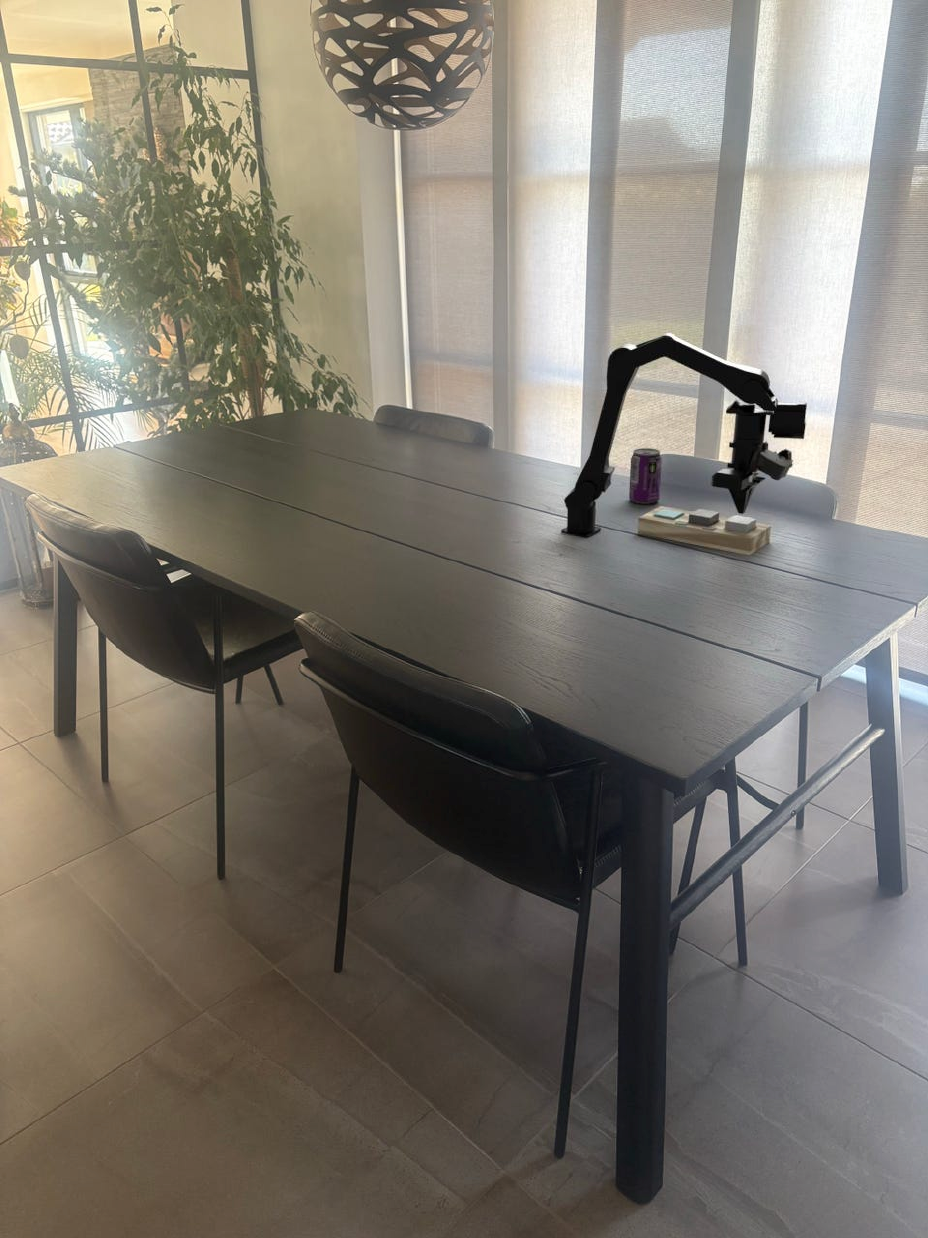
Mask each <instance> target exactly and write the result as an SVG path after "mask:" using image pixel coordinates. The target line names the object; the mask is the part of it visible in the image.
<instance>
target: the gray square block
mask: <svg viewBox="0 0 928 1238" xmlns="http://www.w3.org/2000/svg"><path fill="white" fill-rule="evenodd" d="M691 512H692V513H690V514H689V522H688V523H692V524H697V525H703V526H709V527H710V526H712V525H714V524H716V523H717V522H719V517H720V512H718V511H714V510H709V509H704V508H703V509H702V508H698V509H696V510H694V511H691Z"/></svg>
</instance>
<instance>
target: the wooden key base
mask: <svg viewBox="0 0 928 1238" xmlns="http://www.w3.org/2000/svg"><path fill="white" fill-rule="evenodd" d="M663 509H669V510H675V511H680V512H684V515H683V516H681V517H679V518H678V519H676V520H670V519H665V518H659V517H654V514H655V513H657V512H659V511H661V510H663ZM692 512H693V511H690V510H685V509H679V508H674V507H668V506H663V505H660V506H659V507H656V508H655V509H653V510H651V511H648V512H646V513H645V514H643V515H640V516H639V517H638V519H637V521H638V523H637V525H638V526H637V534H641V535H645V536H650V537H656V538H660V539H665V540H670V541H675V542H682V543H685V544H691V545H695V546H701V547H704V548H705V547H706V548H711V549H715V550H721V551H726V552H731V553H737V554H740V555H745V556H751V555H752V554H754V553H755V552H757V551H758V550H760V549H762V548H763V547H764V546H766V545H767V544H769V542H770V541H771V530H772V525H769V524H764V523H757V522H756V528H755V529H754V530H752V531H751V532H749V533H748V534H746V533H740V532H735V531H729V530H725V521H726V520H727V519H729V518H730V517H724V516H719V522H717V523H716V524H714V525H712V526H710V527H709V526H703V525H697V524H692V523H688V522H689V514H690V513H692Z"/></svg>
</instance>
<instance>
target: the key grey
mask: <svg viewBox="0 0 928 1238" xmlns="http://www.w3.org/2000/svg"><path fill="white" fill-rule="evenodd" d="M728 518H729V519H727V520H726V521H725V530H729V531H735V532H740V533H746V534H748V533H749V532H751V531H752V530H754V529H755V528H756V523H757V518H754V517H748V516H742V515H737V514H736V515H735V514H734V515H732V516H731V517H728Z"/></svg>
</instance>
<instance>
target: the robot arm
mask: <svg viewBox="0 0 928 1238" xmlns="http://www.w3.org/2000/svg"><path fill="white" fill-rule="evenodd" d="M662 358H667V359H669V360H671V361H674V362H675V363H678V364H680V365H682V366H684V367H686V368H688V369H691V370H693V371H695V372H697V373H699V374H700V375H703V376H705V377H707V378H710V380H711V379H712V380H713V381H715V382H717V383H719V384H720V385H722V386H723V387H724V388H725V389H726V390H727V391H729V393H731V394H732V395H734V396H735V397H736V398H737V399H735V400H734V401H733V402H732V403H731V405H729V406H727V407H726V409H725V413H726V415H727V414H728V415H735V419H734V431H733V440H731V441H729V443H728V447H729V448H731V449H732V452H731V460H730V461H728V462H727V465H726V468H722V469H721V470H718V471H717V472H715V473H714V474H713V475H712V476H711V483H710V484H711V485H710V486H712V487H714V488H721V489H727V490H728V491H729V493H730V496H731V499H732V501H733V503H734V505H735V509H736V511H737V513H738V514H740V515H743V514H745V513H746V512H747V508H748V506H749V503H750V500H751V498H752V495H753V493H754V491H755V488H756V487H757V486H758V485H760V484H761V483H762V482H763V481H765V480H766V478H765V477H762V476H760V473H759V471H760V472H761V473H763V474H765V475H766V476H769V477H770V478H771V479H772V480H775V481H780V480H782V478H785V477H786V476H787V474H788V473H789V470H790V468H793V462H794V460H793V459H792V453H793V452H792V451H791V450H789V449H787V448H784V449H782V450H781V451H779V452H777V450H774V451H772V450H770V449H769V443H768V440H765V431H766V422H767V421H766V420H767V416H769V422H768V433H771V434H770V435H773V438H774V439H790V440H791V439H794V440H797V439H798V440H804V439H805V434H806V425H807V417H806V416H807V415H806V414H807V405H808V404H807V402H803V401H801V402H779V400H778V398H777V396H776V395H775V394H774V392H773V391H772V389H771V388H770V386H771V381H770V377H769V375H768V374H767V372H766V371H764V370H762V369H760V368H756V367H753V366H748V365H744V364H738V363H733V362H730V361H728V360H725V359H723V358H721V357H719V356H716V355H715V354H712V353H710V352H708V351H706V350H704V349H702V348H700V347H697V346H695V345H693V344H691V343H690V342H687V341H684V340H683V339H681V338H679V337H677V336H676V335H675V334H673V333H670V332H667V333H664V334H662V335H660V336H657V337H656V338H652V339H650V340H647V341H644V342H643V341H642V342H641V343H639V344H636V345H635V344H633V343H625V344H621V345H619V347H617V348H616V349H614V350H613V351H612V352H611V353H610V354H609V356H608V359H607V368H606V393H605V396H604V400H603V404H602V407H601V411H600V415H599V419H598V423H597V425H596V426H597V427H596V430H595V433H594V437H593V442H592V445H591V448H590V449H591V450H590V453H589V456H588V457H587V460H586V462H585V464H584V465H583V467H582V470H581V471H580V474H579V475H578V477H577V480H576V482H575V484H574V485H575V486H574V488H572V490H570V492H569V493H568V494H567V495H566V497H565V498H564V499H563V502H564V504H565V507H566V510H567V515H566V516H567V518H566V519H567V520H566V521H567V523H566V527H565V528H562V529H561V530H560V533H562V534H566V535H567V534H568V535H571V536H578V537H581V538H588V537H590V536H593V535H594V534H596V533H598V532H601V531H602V527H599V526H596V515H597V514H596V511H597V510H596V509H597V506H596V501H597V500H598V499H599V498H600V497H601V495H602V494H603V493H605V492H607V490H608V488H609V487H610V486H611V484H612V481H611V480H612V475H613V473H614V471H615V470H616V469H615V468H616V467H615V466H611V465H610V454H611V451H612V447H613V444H614V439H615V435H616V434H617V429H618V426H619V422H620V418H621V415H622V414H621V413H622V411H623V408H624V404H625V400H626V397H627V392H628V390H629V389H630V387H631V385H632V383H633V381H634V380H635V377H636V375H637V373H638V371H639V369H640V368H641V367H642V366H645V365H647V364H650V363H652V362H654V361H657V360H659V359H662ZM738 399H739V400H740V401H742V402H744V403H741V402H739V400H738ZM756 406H758V407H759V408H756Z"/></svg>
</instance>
